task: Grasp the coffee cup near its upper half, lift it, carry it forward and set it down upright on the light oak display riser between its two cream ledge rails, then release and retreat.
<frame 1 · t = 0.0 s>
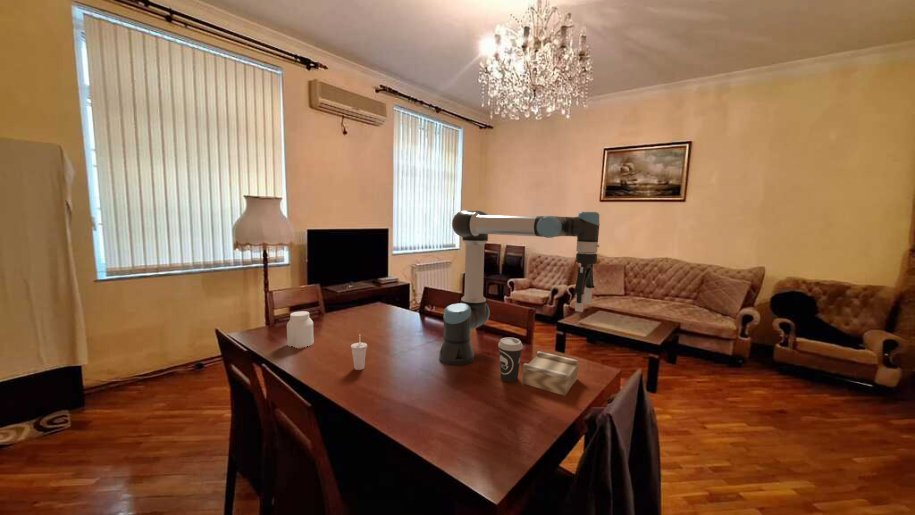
hand: (583, 307, 134), 28 cm above the table, fingers open, 13 cm apart
display riser: (550, 381, 133), on the table
coffee cup: (509, 378, 135), on the table
jar: (300, 344, 166), on the table
smoothie: (359, 368, 141), on the table
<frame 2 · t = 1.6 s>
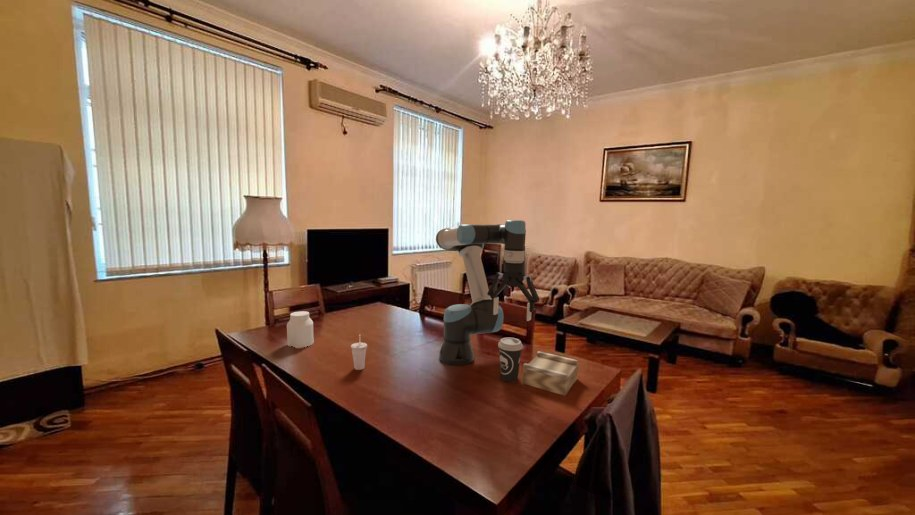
hand: (511, 317, 132), 24 cm above the table, fingers open, 13 cm apart
nothing on the table moved.
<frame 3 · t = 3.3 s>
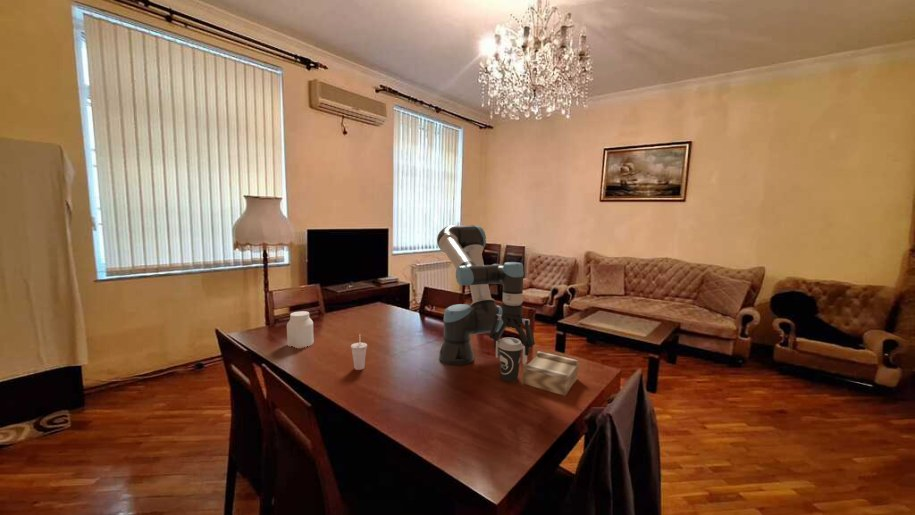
hand: (511, 359, 134), 8 cm above the table, fingers open, 10 cm apart
nothing on the table moved.
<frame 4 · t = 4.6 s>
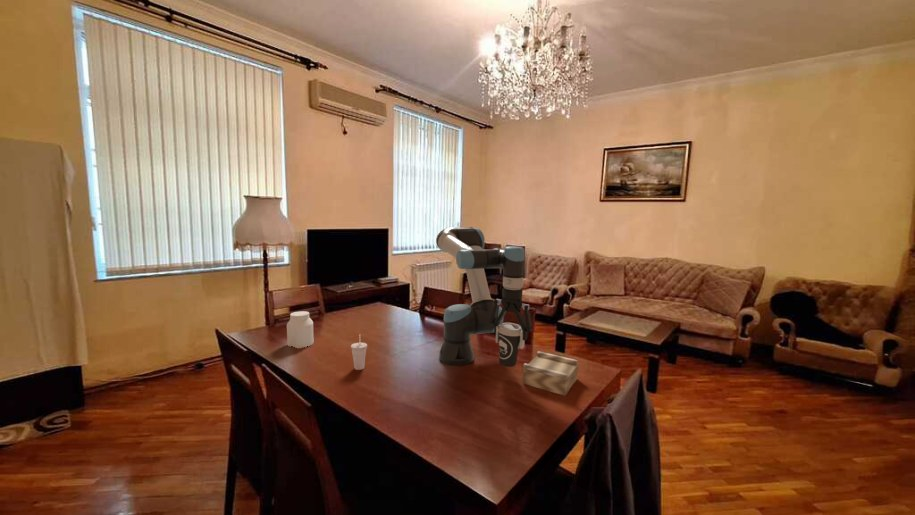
hand: (509, 344, 134), 13 cm above the table, fingers closed on coffee cup, 9 cm apart
coffee cup: (507, 363, 135), point 6 cm above the table, touching gripper
everything else where it was.
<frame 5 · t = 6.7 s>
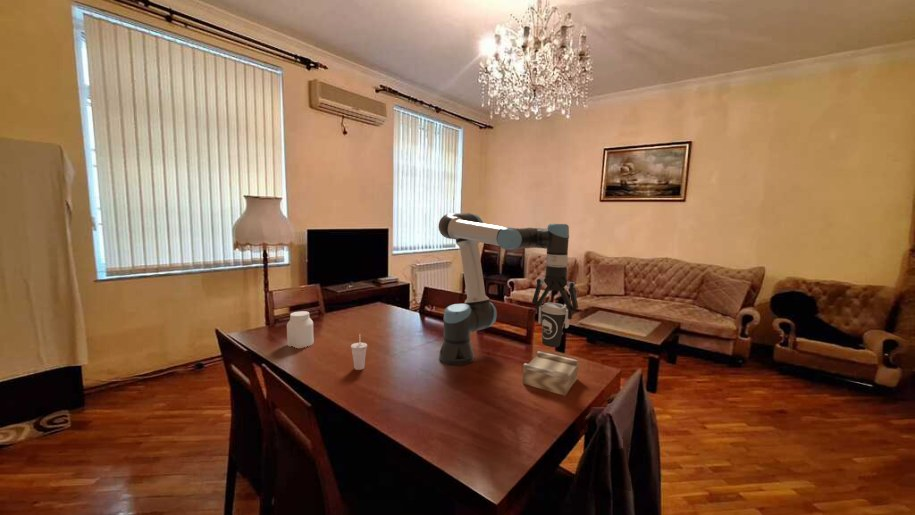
hand: (553, 324, 130), 22 cm above the table, fingers closed on coffee cup, 9 cm apart
coffee cup: (550, 344, 132), point 14 cm above the table, touching gripper
everything else where it was.
when the fingers open (14 cm above the table, at t = 8.9 s): coffee cup stays where it is, resting on display riser.
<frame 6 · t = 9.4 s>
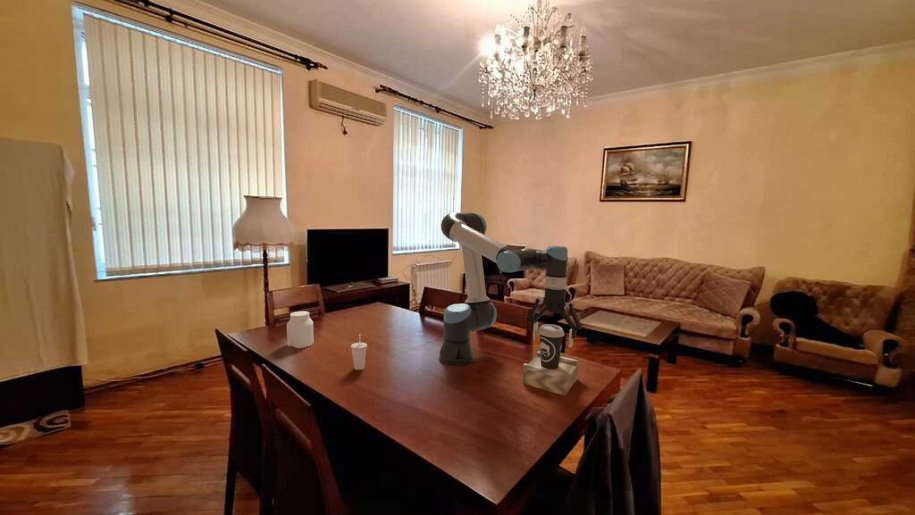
hand: (552, 342, 131), 15 cm above the table, fingers open, 13 cm apart
coffee cup: (549, 366, 133), point 6 cm above the table, touching display riser
everything else where it was.
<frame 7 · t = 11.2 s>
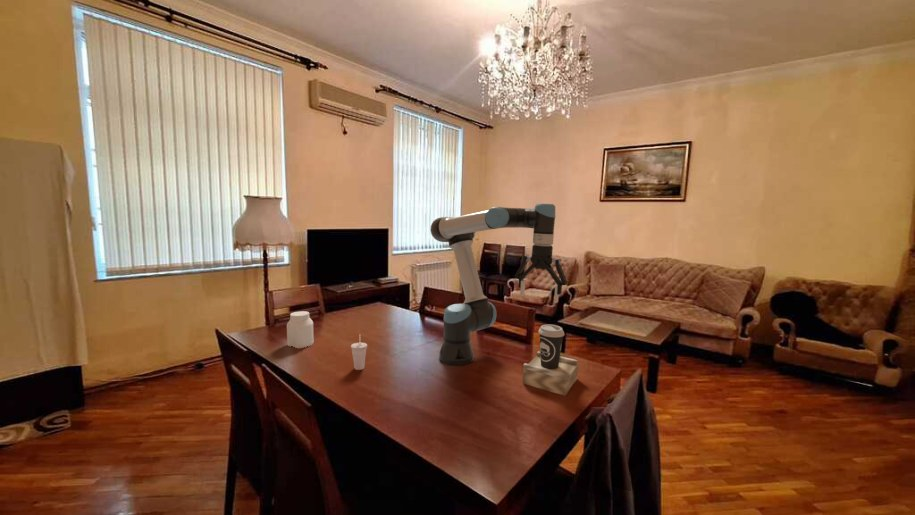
hand: (538, 299, 135), 31 cm above the table, fingers open, 13 cm apart
nothing on the table moved.
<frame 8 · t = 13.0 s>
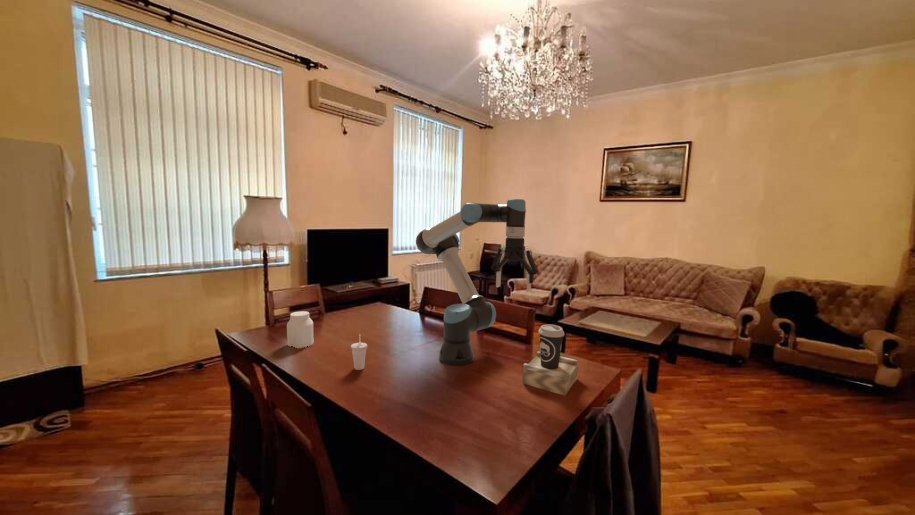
hand: (513, 288, 144), 33 cm above the table, fingers open, 13 cm apart
nothing on the table moved.
at the end: coffee cup inside the target area on the display riser (0.6 cm from its centre), point 5.8 cm above the display riser's base; coffee cup tilted 0°; the gripper is holding nothing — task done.
